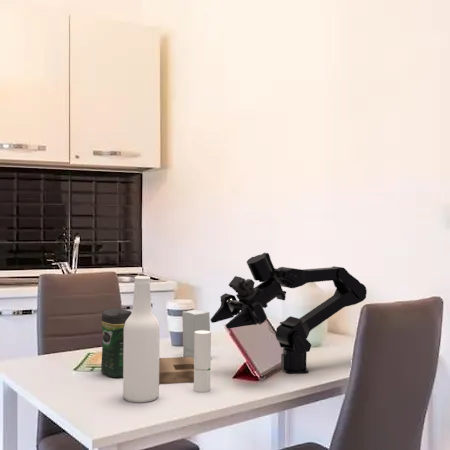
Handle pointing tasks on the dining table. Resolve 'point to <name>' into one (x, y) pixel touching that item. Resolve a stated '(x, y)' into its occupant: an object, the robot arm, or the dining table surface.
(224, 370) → the dining table surface
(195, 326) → the skincare box
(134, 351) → the alcohol
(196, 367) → the tube
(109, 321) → the coffee jar
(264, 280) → the robot arm
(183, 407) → the dining table surface
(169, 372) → the wooden block with hole
